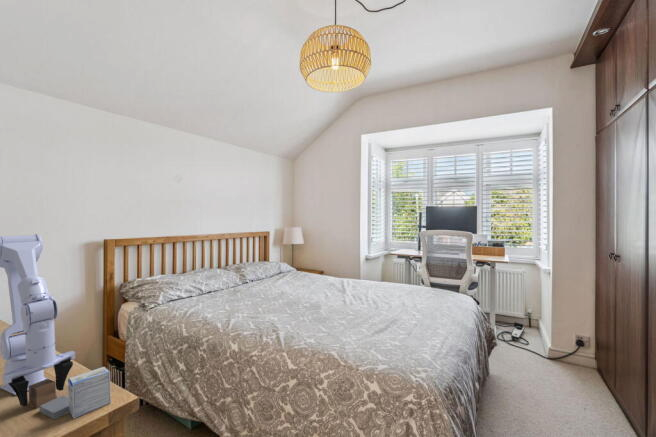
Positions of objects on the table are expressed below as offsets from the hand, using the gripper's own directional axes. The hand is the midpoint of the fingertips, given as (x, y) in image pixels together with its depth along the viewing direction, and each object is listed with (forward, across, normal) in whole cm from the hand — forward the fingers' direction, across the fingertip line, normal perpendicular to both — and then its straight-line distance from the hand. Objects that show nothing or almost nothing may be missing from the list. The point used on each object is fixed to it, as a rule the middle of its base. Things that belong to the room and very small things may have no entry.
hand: (42, 397), depth 83 cm
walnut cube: (+2, 0, 0) cm, 2 cm away
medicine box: (+2, +4, -15) cm, 15 cm away
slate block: (+2, 0, -8) cm, 8 cm away
